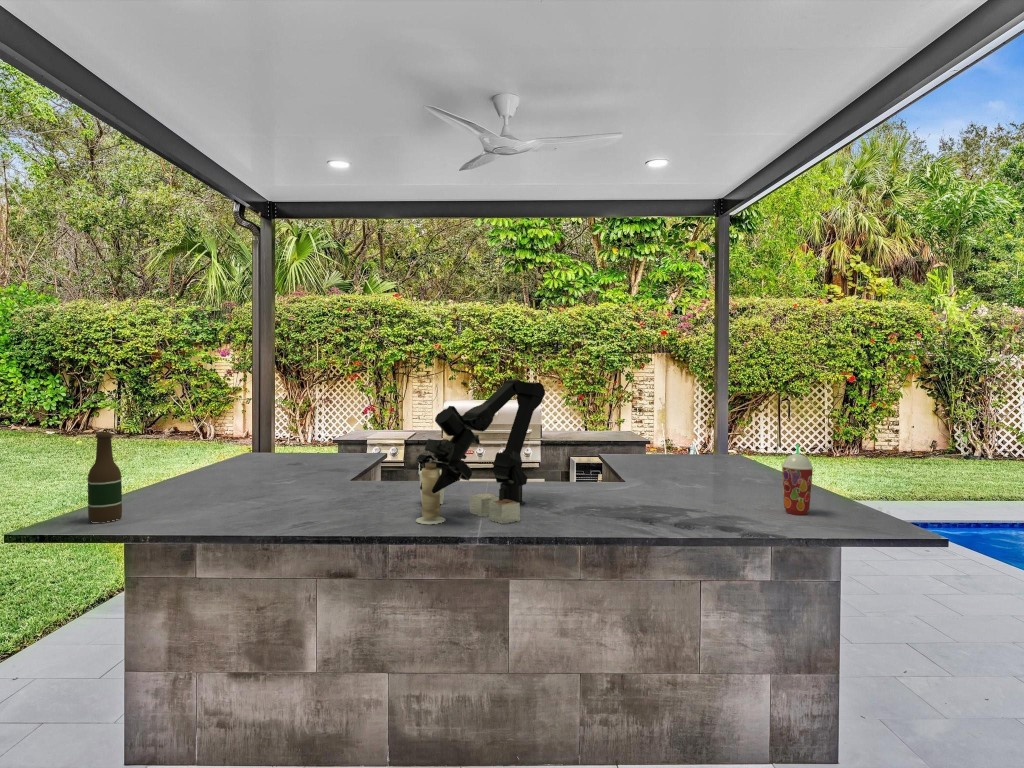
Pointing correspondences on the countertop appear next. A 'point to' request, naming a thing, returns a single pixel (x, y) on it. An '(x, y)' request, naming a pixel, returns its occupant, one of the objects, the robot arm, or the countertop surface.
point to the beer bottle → (104, 483)
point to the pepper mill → (430, 491)
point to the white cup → (440, 490)
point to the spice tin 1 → (481, 503)
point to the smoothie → (797, 483)
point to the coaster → (430, 520)
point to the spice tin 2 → (504, 511)
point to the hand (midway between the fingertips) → (426, 491)
